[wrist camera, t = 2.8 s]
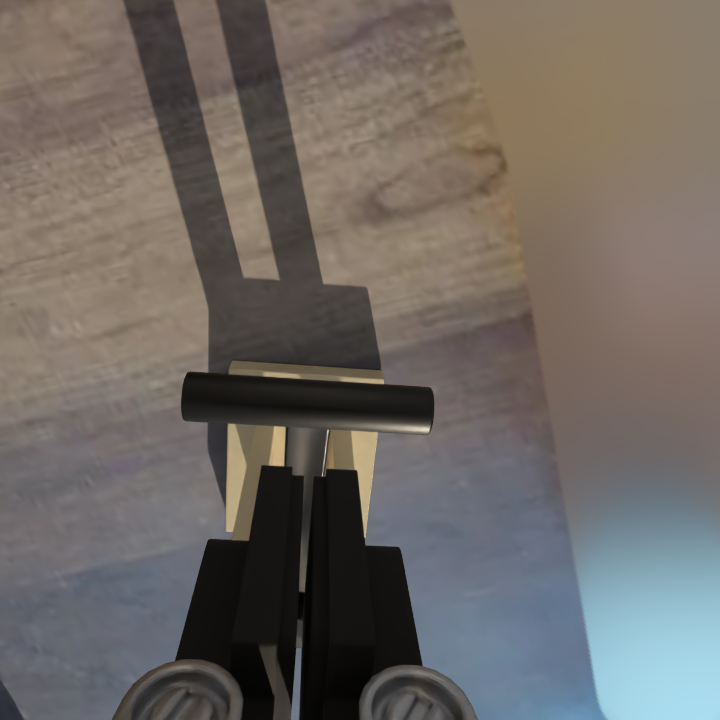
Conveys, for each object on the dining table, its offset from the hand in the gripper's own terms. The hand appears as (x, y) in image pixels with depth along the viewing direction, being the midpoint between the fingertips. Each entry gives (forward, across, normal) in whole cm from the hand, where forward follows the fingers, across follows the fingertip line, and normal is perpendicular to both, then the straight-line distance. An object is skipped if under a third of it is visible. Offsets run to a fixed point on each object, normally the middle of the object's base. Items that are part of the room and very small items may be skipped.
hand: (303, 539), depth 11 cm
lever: (+9, 0, +5) cm, 10 cm away
